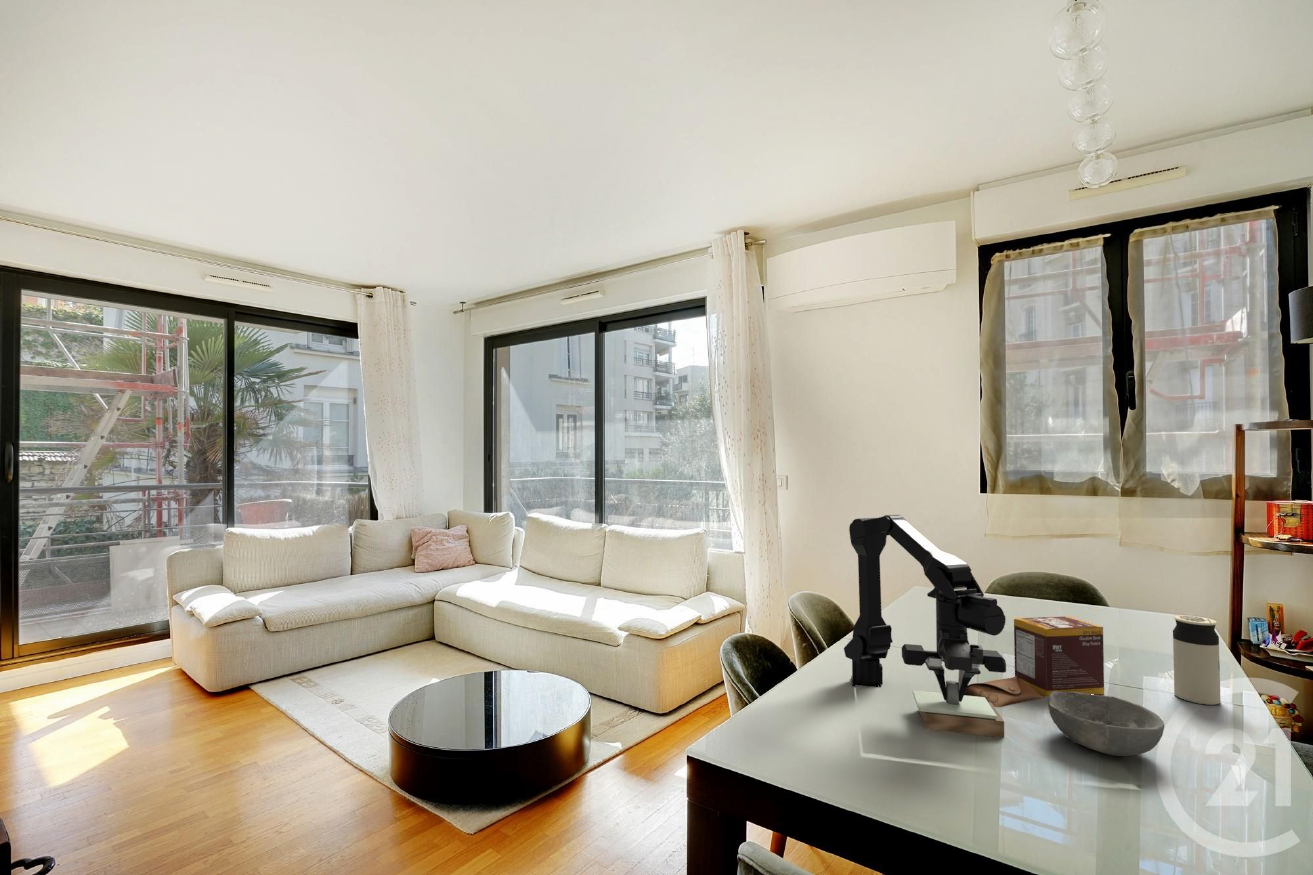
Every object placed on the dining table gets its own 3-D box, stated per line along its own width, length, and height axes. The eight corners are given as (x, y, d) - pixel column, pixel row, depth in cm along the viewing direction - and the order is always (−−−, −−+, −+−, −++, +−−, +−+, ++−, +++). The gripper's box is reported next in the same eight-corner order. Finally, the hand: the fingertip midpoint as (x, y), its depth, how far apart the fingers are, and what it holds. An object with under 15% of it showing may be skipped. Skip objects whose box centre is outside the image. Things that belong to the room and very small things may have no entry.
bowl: (1172, 783, 105) (1171, 734, 105) (1048, 756, 114) (1047, 712, 115) (1157, 743, 120) (1156, 700, 121) (1048, 722, 130) (1047, 682, 130)
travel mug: (1173, 699, 143) (1171, 619, 143) (1175, 690, 148) (1173, 613, 149) (1220, 708, 137) (1217, 625, 138) (1221, 698, 143) (1218, 618, 144)
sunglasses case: (996, 712, 134) (981, 679, 138) (971, 718, 140) (958, 687, 143) (1051, 699, 142) (1035, 669, 145) (1025, 706, 147) (1011, 677, 151)
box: (925, 731, 125) (925, 713, 125) (919, 712, 134) (918, 695, 134) (1004, 740, 121) (1004, 721, 121) (991, 719, 131) (991, 702, 131)
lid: (919, 711, 125) (918, 687, 125) (912, 693, 135) (912, 671, 135) (997, 719, 121) (996, 694, 122) (984, 700, 131) (984, 677, 131)
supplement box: (1105, 694, 145) (1104, 626, 146) (1046, 698, 143) (1045, 628, 144) (1069, 679, 156) (1068, 615, 156) (1013, 682, 153) (1012, 617, 154)
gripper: (907, 629, 123) (908, 710, 123) (1013, 637, 119) (1014, 721, 118) (901, 616, 134) (901, 690, 134) (997, 622, 129) (999, 699, 129)
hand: (952, 700), depth 128 cm, fingers closed on lid, 2 cm apart
